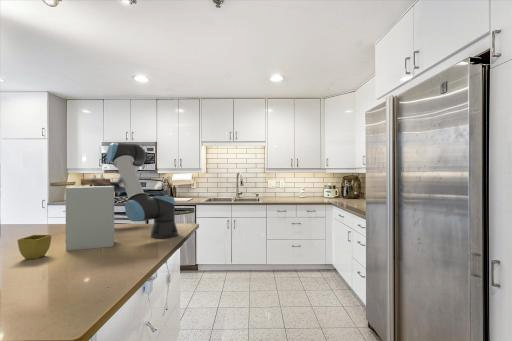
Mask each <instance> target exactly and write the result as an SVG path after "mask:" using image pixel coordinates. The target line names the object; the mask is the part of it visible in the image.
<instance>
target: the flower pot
mask: <svg viewBox="0 0 512 341" xmlns="http://www.w3.org/2000/svg"><path fill="white" fill-rule="evenodd" d="M16 240H17V246H18V250H19V252H20V254H21V256H22V257H23V258H24V259H25V260H26V259H27V260H31V259H33V260H36V259H39V258H41V257H44V256H45V255H46V254H47V253H48V251H49V250H50V247H51V242H52V234H32V235H29V236H25V237H21V238H19V239H16Z"/></svg>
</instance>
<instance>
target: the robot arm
mask: <svg viewBox="0 0 512 341" xmlns="http://www.w3.org/2000/svg"><path fill="white" fill-rule="evenodd" d="M106 151H107V152H106V159H107V160H106V161H107V162H109V163H113V166H114V167H115V168H116V169H117V170H118V172H119V177H118V178H117V180H116V181H110V184H104V185H89V186H114V193H124V192H125V193H126V194H127V195H126V196H127V199H126V203H125V205H124V212H125V215H126V217H127V218H128V220H129V221H130V222H134V223H135V222H136V223H137V222H144V221H150V220H153V225H152V228H151V231H150V237H151V238H154V239H169V238H173V237H176V236H178V235H179V232H178V231H179V230H178V228H177V224H176V222H175V221H176V220H175V219H176V216H175V215H176V214H175V213H176V212H175V211H176V209H175V208H176V203H175V202H176V201H175V198H174V197H173V196H163V195H154V196H153V198H150V196H149V195H148V193H147V192H144V189H143V186H142V185H141V181H140V179H139V176H138V174H137V171H138V170H139V169H140V167H143V165H144V164H145V162H146V160H147V153H146V151H145V149H144V148H143V146H141V145H139V144H136V143H125V142H111V143H110V144H109V145H108V147H107V150H106ZM100 178H101V179H106V178H104V176H103V174H100ZM92 179H97V177H96V174H93V178H92Z"/></svg>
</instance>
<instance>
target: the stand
mask: <svg viewBox="0 0 512 341" xmlns="http://www.w3.org/2000/svg"><path fill="white" fill-rule="evenodd" d="M114 244H115V192H114V186H94V185H93V186H90V185H84V186H68V187H65V252H68V251H77V250H88V249H89V250H90V249H100V248H111V247H113V246H114Z"/></svg>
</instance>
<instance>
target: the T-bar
mask: <svg viewBox="0 0 512 341" xmlns="http://www.w3.org/2000/svg"><path fill="white" fill-rule="evenodd" d="M110 182H111V178H105V179H101V177H99V178H97V177H96V179H93V178H81V179H80V185H81V186H90V185H93V186H94V185H104V184H110Z"/></svg>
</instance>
